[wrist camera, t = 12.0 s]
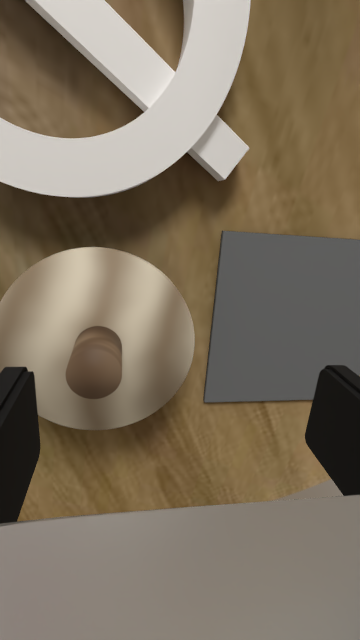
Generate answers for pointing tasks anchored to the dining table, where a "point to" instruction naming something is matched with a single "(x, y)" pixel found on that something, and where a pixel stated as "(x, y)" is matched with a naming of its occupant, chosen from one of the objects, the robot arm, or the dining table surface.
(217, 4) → the ring with crossbar
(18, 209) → the dining table surface
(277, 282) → the mat
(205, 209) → the dining table surface
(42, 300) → the lid
